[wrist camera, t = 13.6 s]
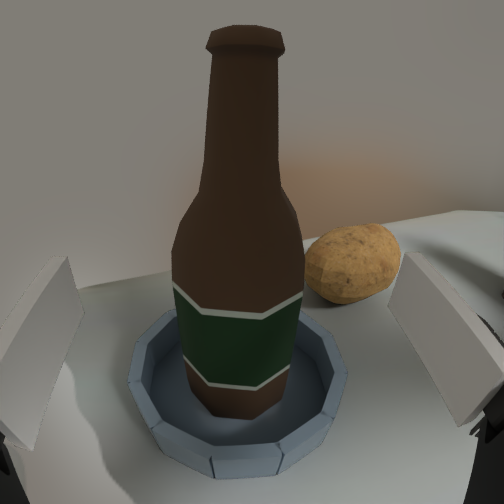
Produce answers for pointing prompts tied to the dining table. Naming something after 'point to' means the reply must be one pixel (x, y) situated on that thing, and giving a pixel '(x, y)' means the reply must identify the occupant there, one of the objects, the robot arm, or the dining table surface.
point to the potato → (352, 263)
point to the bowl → (236, 430)
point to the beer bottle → (239, 238)
